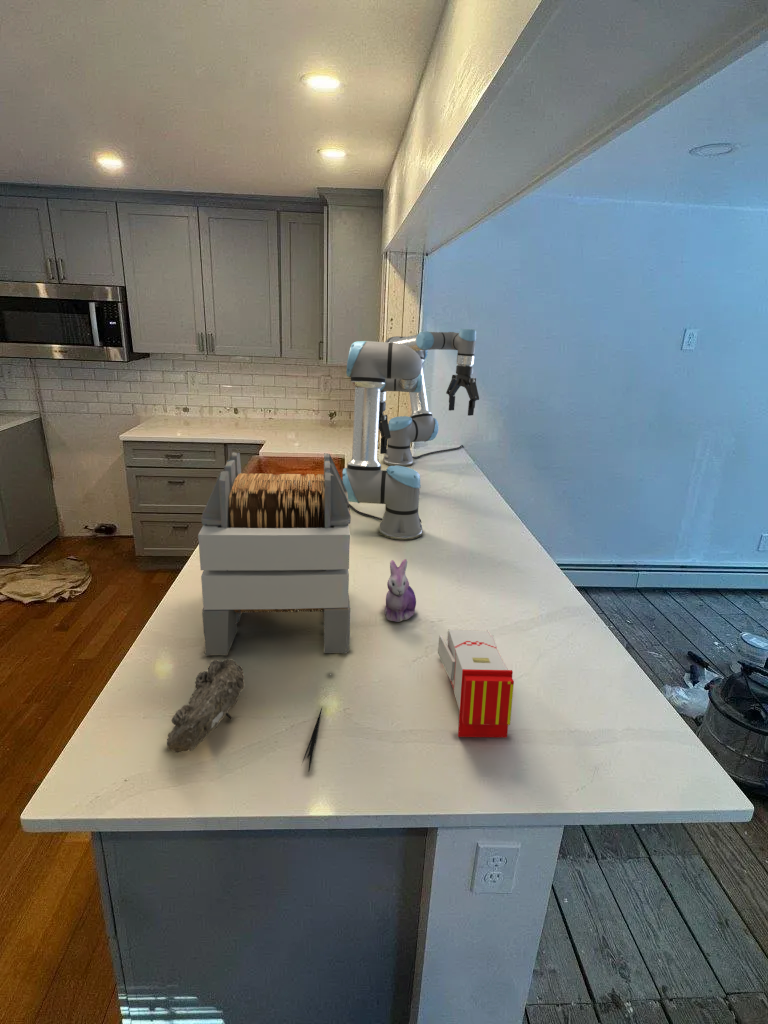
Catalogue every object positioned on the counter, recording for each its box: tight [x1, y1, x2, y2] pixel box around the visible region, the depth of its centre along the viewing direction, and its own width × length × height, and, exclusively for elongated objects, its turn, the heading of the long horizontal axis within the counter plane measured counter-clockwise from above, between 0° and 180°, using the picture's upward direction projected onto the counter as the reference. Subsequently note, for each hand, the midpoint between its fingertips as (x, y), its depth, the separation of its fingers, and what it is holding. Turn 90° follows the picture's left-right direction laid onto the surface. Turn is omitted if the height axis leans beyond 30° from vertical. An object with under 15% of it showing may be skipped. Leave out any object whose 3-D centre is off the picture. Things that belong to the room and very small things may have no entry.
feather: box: [301, 673, 332, 771], centre depth 108 cm, size 2×28×2 cm
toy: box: [437, 628, 515, 738], centre depth 117 cm, size 12×13×30 cm
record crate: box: [197, 451, 352, 657], centre depth 136 cm, size 34×33×41 cm
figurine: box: [384, 558, 417, 623], centre depth 145 cm, size 9×10×15 cm
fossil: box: [166, 658, 245, 754], centre depth 106 cm, size 22×10×15 cm
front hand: (375, 449), depth 248 cm, fingers open, 13 cm apart
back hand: (460, 412), depth 260 cm, fingers open, 13 cm apart
